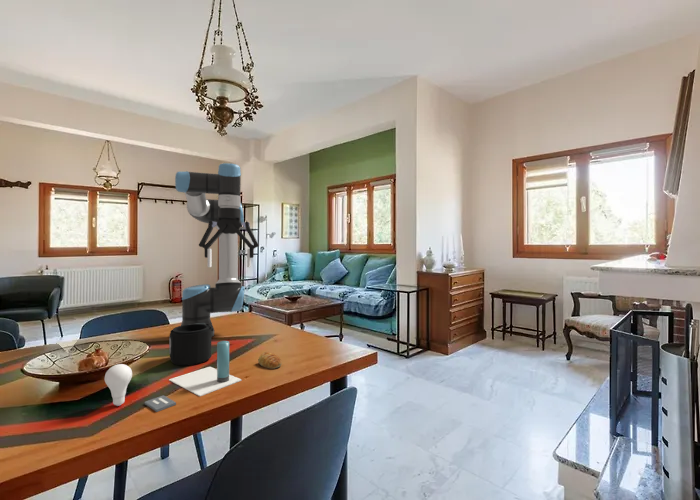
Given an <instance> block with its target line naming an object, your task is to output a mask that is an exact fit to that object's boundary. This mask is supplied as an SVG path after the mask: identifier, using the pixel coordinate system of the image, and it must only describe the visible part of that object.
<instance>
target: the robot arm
mask: <svg viewBox="0 0 700 500" xmlns="http://www.w3.org/2000/svg"><path fill="white" fill-rule="evenodd" d="M241 176H242V173H241V167H240V166H239V164H236V163H230V162H229V163H228V162H226V163H225V162H224V163H220V164H219V165H218V172H217V173H208V172H207V173H206V172H196V171H187V170H186V171H176V173H175V178H174V180H175V183H174V184H175V189H176V192H179V193H184V195H185V198H186V201H187V202H186V209H187V212H188V214H189V215H190V216H191V217H192V218H194V219H195V220H197V221H199V222H202V223H204V224H208V226H207V227H206V230H205V232H204V234H203V236H202V238H201V240H200V242H199V244H198V246H199V247H200V248H204V258H205V259H207V268H212V265H213V263H212V261H213V260H212V257H213V256H212V255H213V254H212V252H213V251H212V250H213V249H212V248H210V247H211V246H212V245H214V243H215V242H216V241H217V240H218V280H217V281H216V282H215V284H214V287H213V286H212V287H211V285H210V284H208V283H205V284H204V283H203V284H198V285H192V286H188V287H185V288H184V289H183V290H182V293H181V295H182V296H181V297H182V298H181V300H182V301H181V303H182V306H181V307H182V309H181V312H182V313H181V314H182V316H181V317H182V319H181V324H180V326H182V325H187V324H195V323H205V324H209V327H211V338H213V337H214V336H215V328H214V326H213V322H212V320H211V314H212V313H213V314H215V313H217V314H218V313H233V312H239V311H241V310H242V309H243V304H244V298H245V289H246V288H245V286H243V285H242V282H241V281H240V280H239V259H238V258H239V249H238V248H239V247H238V245H239V244H238V243H239V242H238V239H239V238H240V239H241V240H242V241H243V242H244V243H245V245H246V246H247V247H248V248H247V249H246V250H247V255H246V258H247V259H246V268H250V267H251V261H252V259H253V258H254V256H255V255H254V250H255V249H256V248H258V247H259V243H258V240H257V239H256V237H255V235H254V233H253V230H252V229H251V225H250V221H245V220H244V219H245V218H244V210H243V205H242V201H241V198H242V197H241V185H242V184H241ZM206 194H209V195H210V194H213V195H218V196H217V197H218V198H217V199H210V198H207V195H206ZM242 226H243V228H245V229H246V231H247V234H248V235H249V237H250V240H251V241H249V239H248V238H247V237H246V236H245V235H244V233H243V232H242V231H241V230H240V229H241V228H242ZM214 228H216V229H217V231H216V232H215V233H214V235H213V236H212V237H211V238H210V236H211V233H212V231H213V230H214ZM209 238H210V239H209ZM208 239H209V240H208ZM207 241H208V242H207ZM251 242H252V243H251Z"/></svg>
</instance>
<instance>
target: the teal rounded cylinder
mask: <svg viewBox="0 0 700 500" xmlns="http://www.w3.org/2000/svg"><path fill="white" fill-rule="evenodd" d="M216 369H217V382H219V383H223V382H227V381H229V375H230V341H228V340H220V341H218V342H216Z"/></svg>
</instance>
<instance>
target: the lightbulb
mask: <svg viewBox="0 0 700 500" xmlns="http://www.w3.org/2000/svg"><path fill="white" fill-rule="evenodd" d="M132 379H133V371H132V368H131V367H130V366H128V365H127V364H123V363H118V364H115V365H113V366H111V367H110V368H109V369H108V370H106V372H105V375H104V382H105V385H106V386H107V387H108V388H109V390H110V393H111V397H112V404H113V405H114V406H116V407H118V406H119V407H120V406H121V405H122V404H124V403H125V401H126V400H125V399H126V398H125V397H126V394H127V388H128V385H129V384H130V382H131V380H132Z"/></svg>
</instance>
